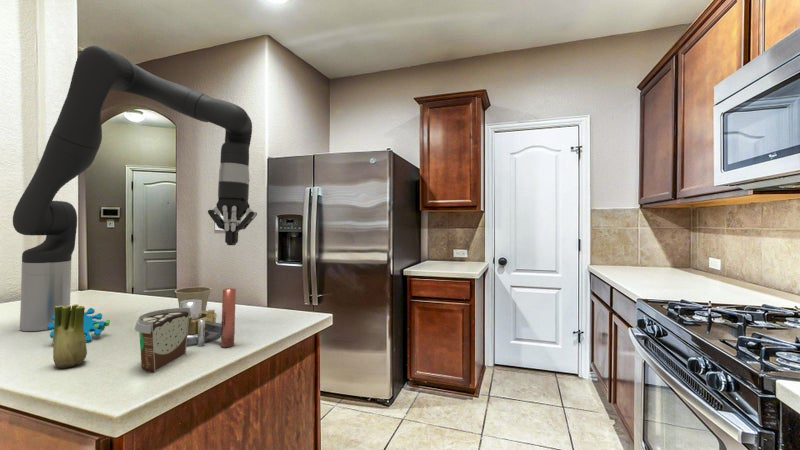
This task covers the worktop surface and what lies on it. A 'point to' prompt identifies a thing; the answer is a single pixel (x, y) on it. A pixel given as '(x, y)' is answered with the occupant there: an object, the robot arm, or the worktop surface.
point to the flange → (202, 336)
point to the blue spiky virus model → (87, 324)
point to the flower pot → (194, 295)
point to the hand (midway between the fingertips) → (231, 245)
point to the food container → (162, 337)
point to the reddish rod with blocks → (227, 319)
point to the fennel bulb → (69, 336)
